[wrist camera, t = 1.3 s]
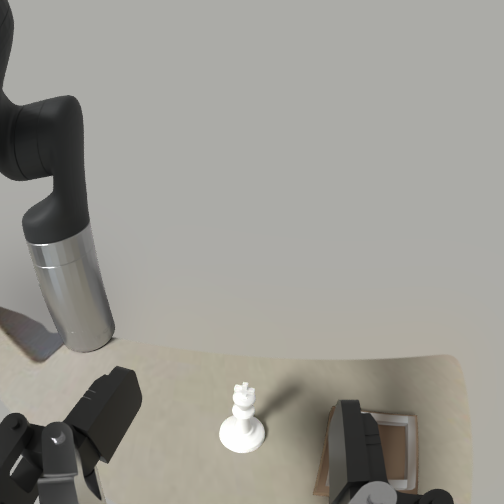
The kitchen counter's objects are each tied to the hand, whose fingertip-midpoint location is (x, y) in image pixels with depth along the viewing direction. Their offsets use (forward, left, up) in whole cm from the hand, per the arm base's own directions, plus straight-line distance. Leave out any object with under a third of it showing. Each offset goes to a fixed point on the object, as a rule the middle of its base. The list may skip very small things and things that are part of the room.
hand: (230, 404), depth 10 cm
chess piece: (-2, +8, -21) cm, 22 cm away
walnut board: (+13, +8, -20) cm, 26 cm away
